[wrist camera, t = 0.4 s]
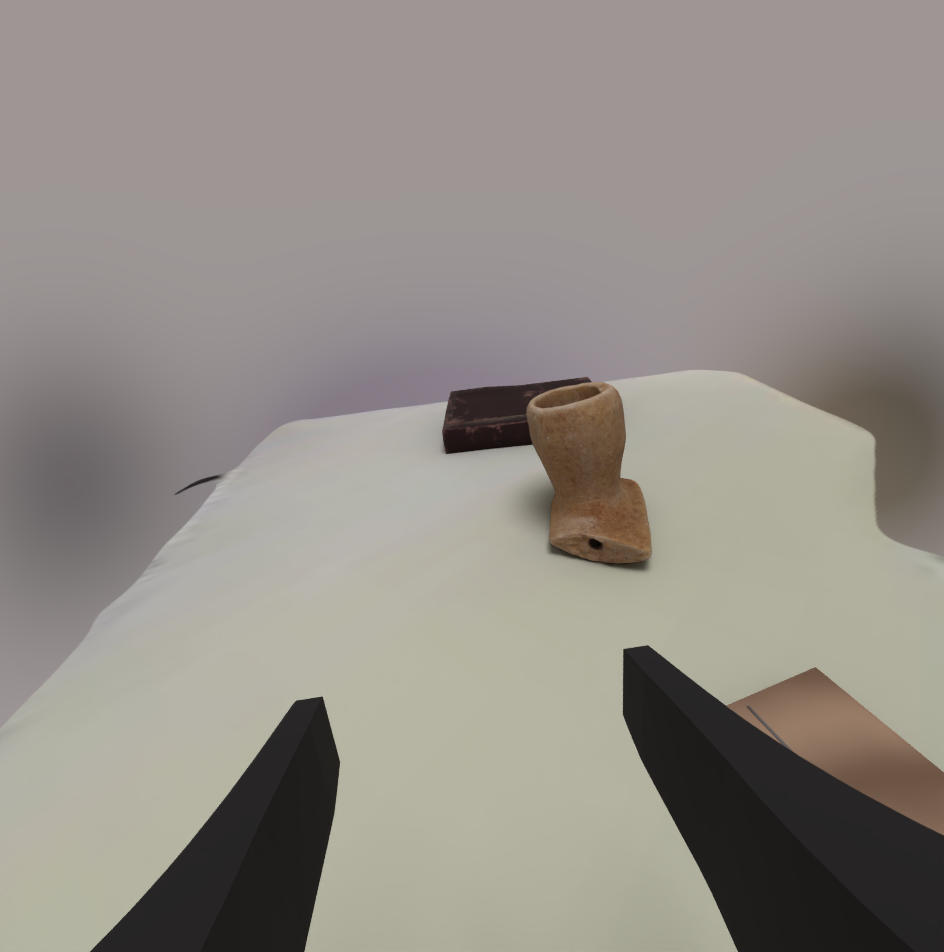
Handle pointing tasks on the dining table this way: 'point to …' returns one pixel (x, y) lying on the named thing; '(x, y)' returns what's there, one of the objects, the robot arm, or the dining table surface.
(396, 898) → the dining table surface
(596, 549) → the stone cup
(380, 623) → the dining table surface
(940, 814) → the board
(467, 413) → the diary
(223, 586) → the dining table surface
